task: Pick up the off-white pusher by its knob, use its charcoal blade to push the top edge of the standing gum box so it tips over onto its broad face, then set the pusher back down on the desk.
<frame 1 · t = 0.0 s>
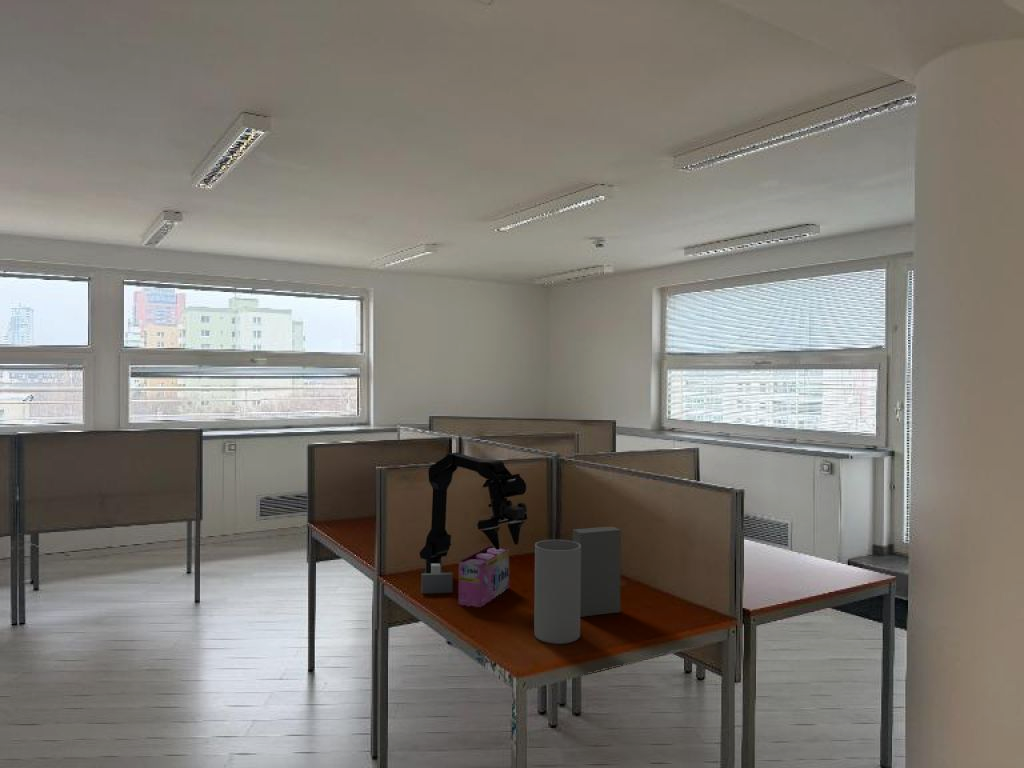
hand: (507, 547, 231), 15 cm above the table, tool pointing down, fingers open, 9 cm apart
upright grey panel: (595, 612, 215), on the table
pusher: (435, 585, 241), on the table
cylinder vase: (557, 637, 194), on the table
gum box: (484, 597, 229), on the table
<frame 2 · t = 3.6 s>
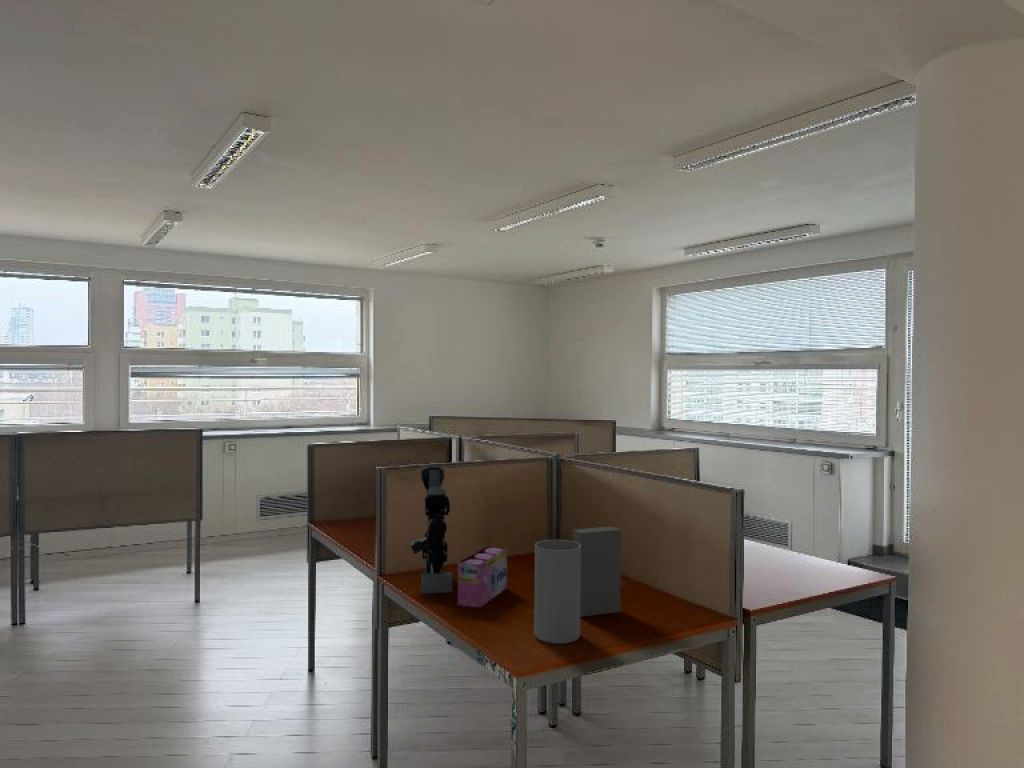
hand: (435, 576, 241), 3 cm above the table, tool pointing down, fingers closed on pusher, 3 cm apart
pusher: (435, 585, 241), on the table, touching gripper
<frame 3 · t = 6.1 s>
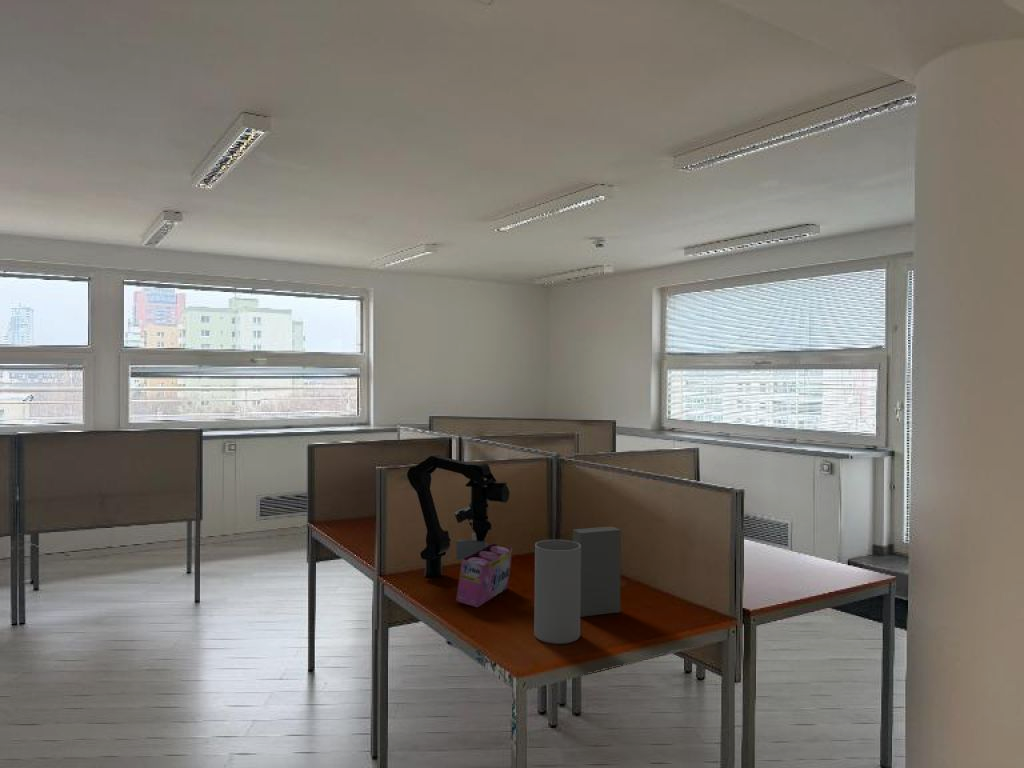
hand: (478, 545, 245), 13 cm above the table, tool pointing down, fingers closed on pusher, 4 cm apart
pusher: (477, 553, 245), point 10 cm above the table, touching gripper, gum box
gum box: (482, 595, 229), on the table, touching pusher
everything else where it was.
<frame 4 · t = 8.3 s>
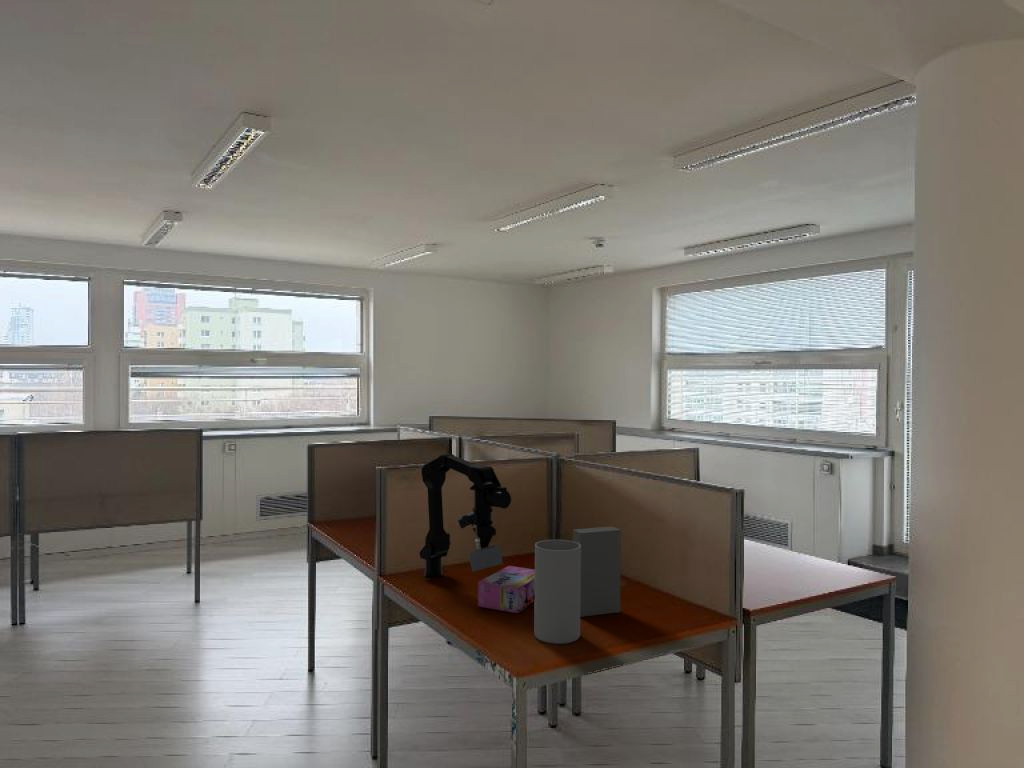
hand: (482, 551, 236), 13 cm above the table, tool pointing down, fingers closed on pusher, 3 cm apart
pusher: (484, 559, 237), point 10 cm above the table, tilted 14°, touching gripper
gum box: (493, 585, 228), point 4 cm above the table
everything else where it was.
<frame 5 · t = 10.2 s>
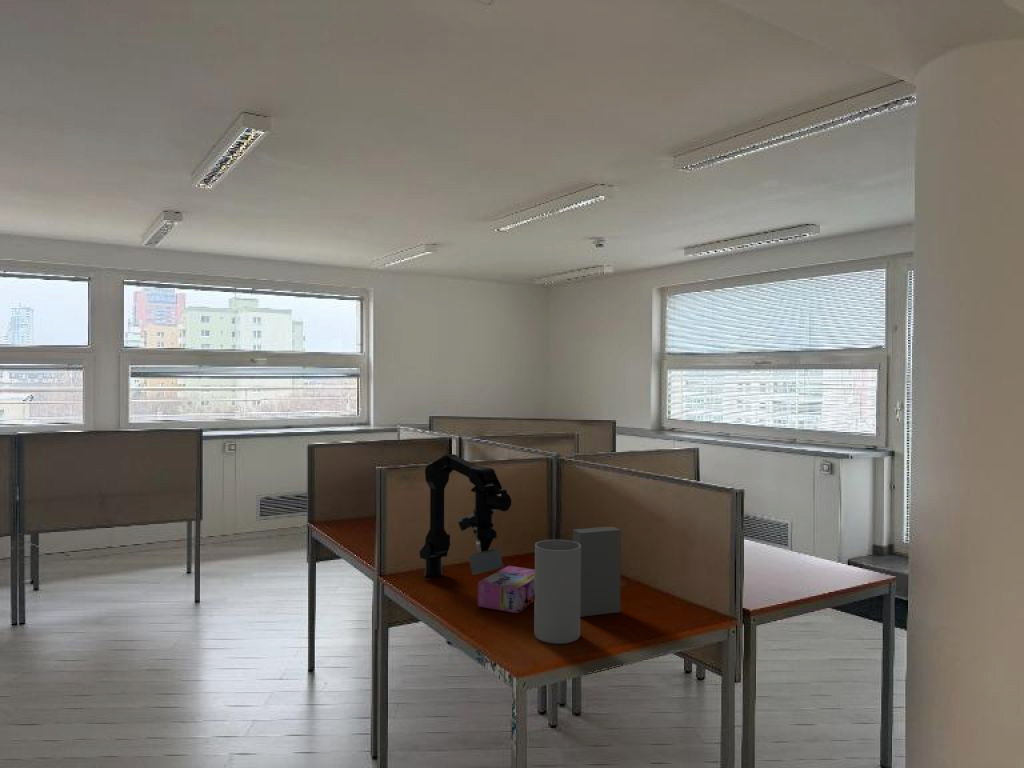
hand: (483, 554, 234), 12 cm above the table, tool pointing down, fingers closed on pusher, 3 cm apart
pusher: (484, 561, 234), point 10 cm above the table, tilted 14°, touching gripper
everything else where it was.
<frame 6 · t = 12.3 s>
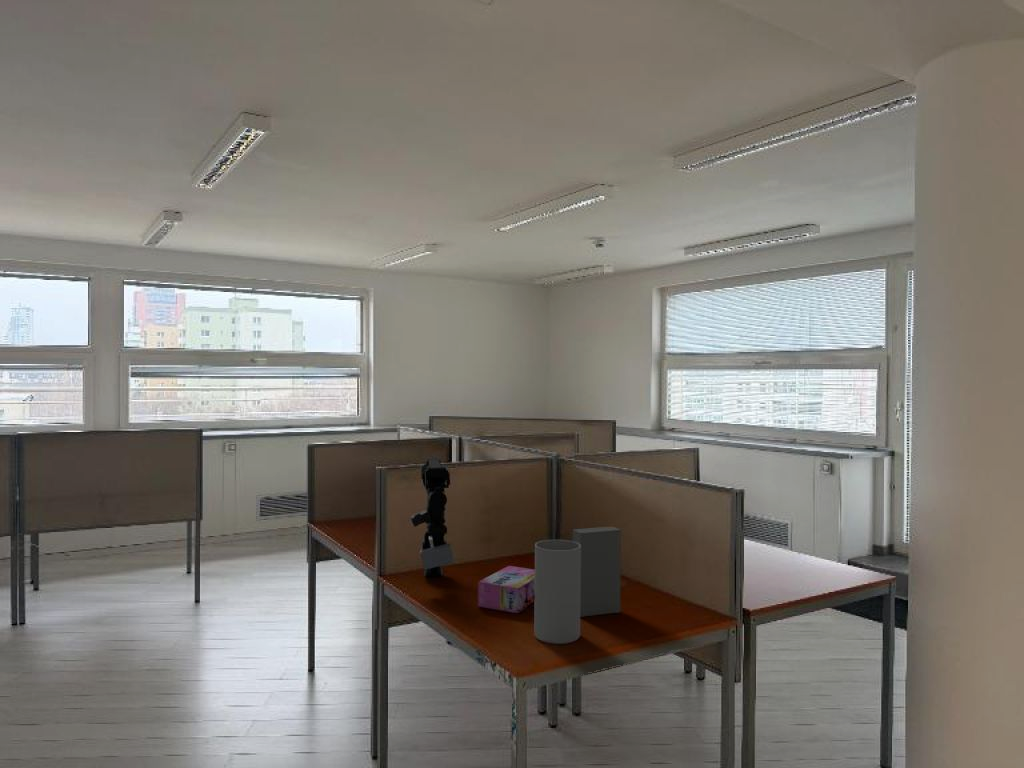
hand: (435, 549, 241), 12 cm above the table, tool pointing down, fingers closed on pusher, 3 cm apart
pusher: (437, 556, 241), point 10 cm above the table, tilted 15°, touching gripper
everything else where it was.
when the fingers open (4 cm above the table, at t = 14.3 s): pusher drops 2 cm, on the table.
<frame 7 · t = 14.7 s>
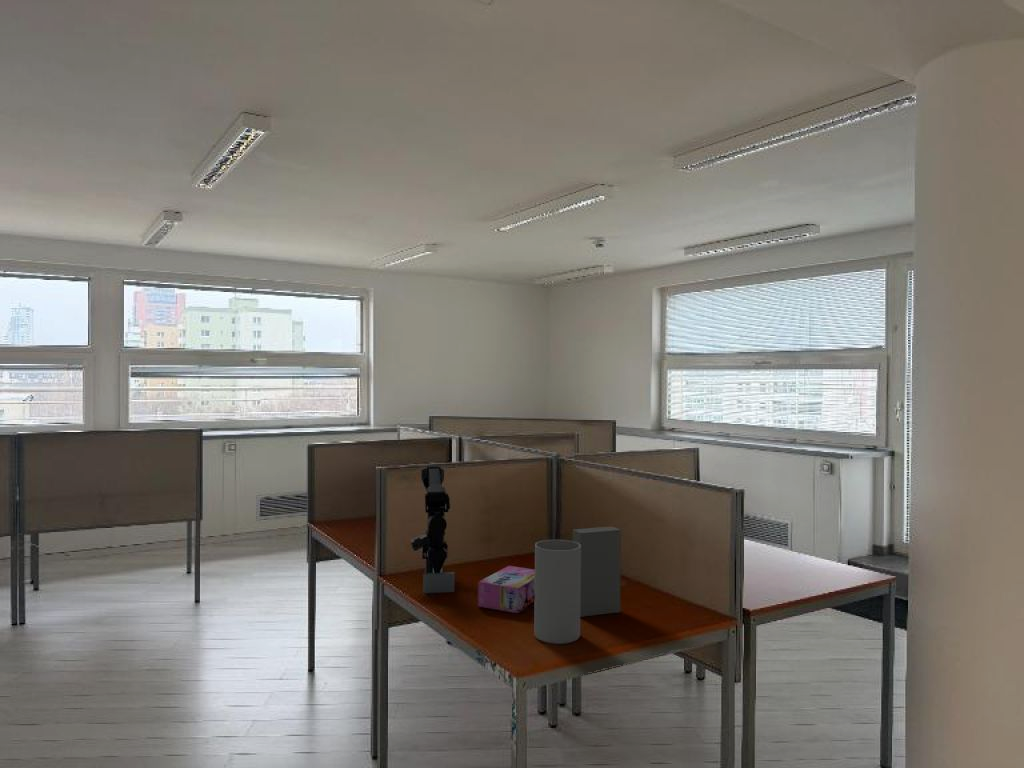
hand: (435, 573, 241), 4 cm above the table, tool pointing down, fingers open, 8 cm apart
pusher: (437, 585, 241), on the table
everything else where it was.
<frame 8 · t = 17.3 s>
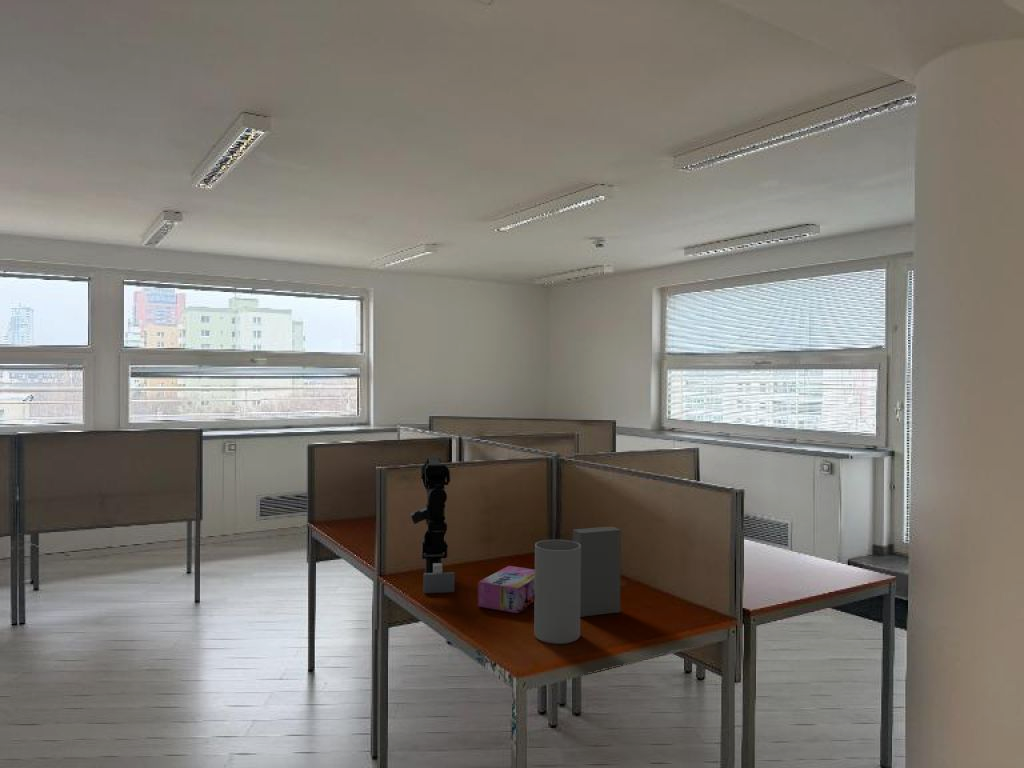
hand: (435, 546, 241), 13 cm above the table, tool pointing down, fingers open, 9 cm apart
nothing on the table moved.
at the end: gum box tilted 91°; pusher inside the target area (0.8 cm from its centre), on the table; the gripper is holding nothing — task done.
